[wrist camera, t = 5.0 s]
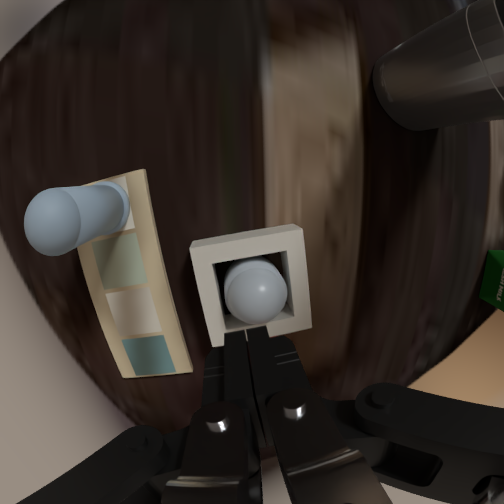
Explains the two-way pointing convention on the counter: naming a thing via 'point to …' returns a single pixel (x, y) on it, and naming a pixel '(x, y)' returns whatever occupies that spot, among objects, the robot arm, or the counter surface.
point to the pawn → (75, 216)
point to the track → (135, 290)
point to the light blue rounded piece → (254, 290)
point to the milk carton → (493, 279)
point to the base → (249, 245)
